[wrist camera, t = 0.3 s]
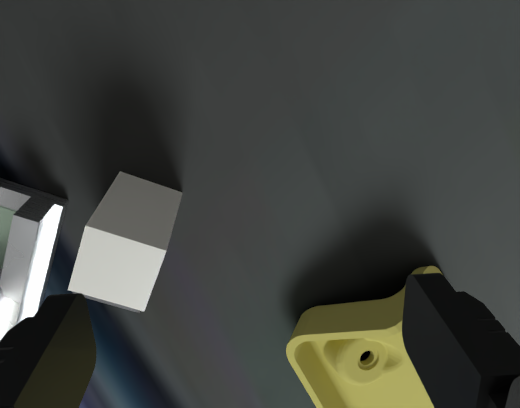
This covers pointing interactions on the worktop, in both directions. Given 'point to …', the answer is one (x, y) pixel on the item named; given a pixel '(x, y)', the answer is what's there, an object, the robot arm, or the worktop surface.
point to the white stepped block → (26, 249)
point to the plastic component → (357, 355)
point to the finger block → (125, 243)
